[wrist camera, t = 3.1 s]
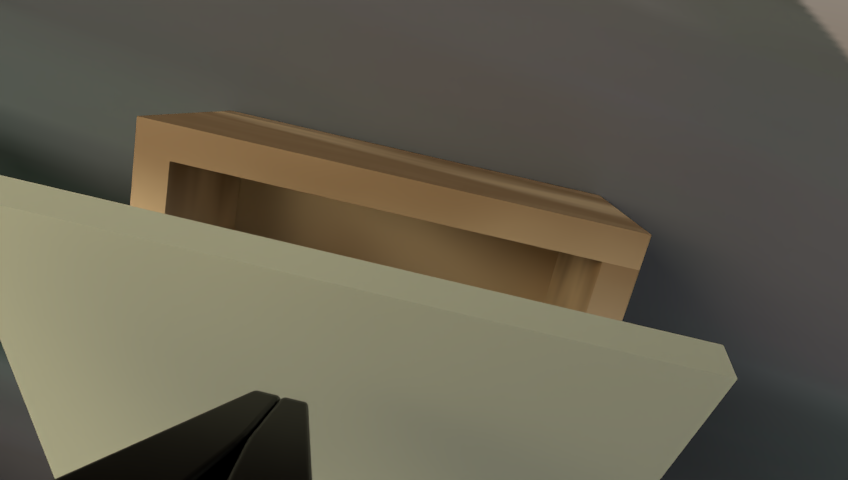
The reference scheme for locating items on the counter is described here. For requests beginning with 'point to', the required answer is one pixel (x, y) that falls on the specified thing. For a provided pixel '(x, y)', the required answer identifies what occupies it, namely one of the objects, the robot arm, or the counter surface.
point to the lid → (326, 352)
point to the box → (390, 208)
